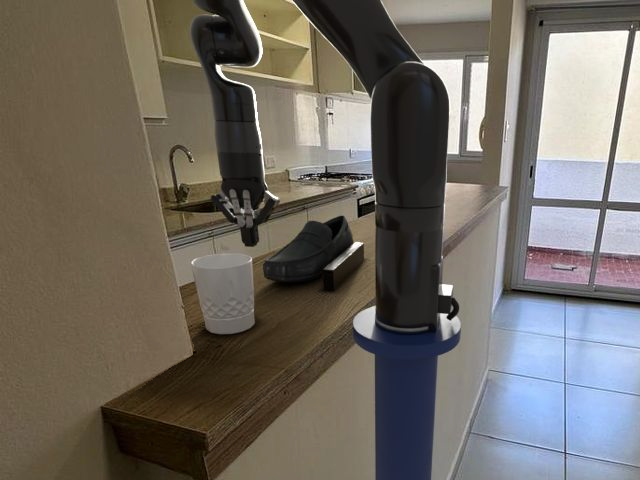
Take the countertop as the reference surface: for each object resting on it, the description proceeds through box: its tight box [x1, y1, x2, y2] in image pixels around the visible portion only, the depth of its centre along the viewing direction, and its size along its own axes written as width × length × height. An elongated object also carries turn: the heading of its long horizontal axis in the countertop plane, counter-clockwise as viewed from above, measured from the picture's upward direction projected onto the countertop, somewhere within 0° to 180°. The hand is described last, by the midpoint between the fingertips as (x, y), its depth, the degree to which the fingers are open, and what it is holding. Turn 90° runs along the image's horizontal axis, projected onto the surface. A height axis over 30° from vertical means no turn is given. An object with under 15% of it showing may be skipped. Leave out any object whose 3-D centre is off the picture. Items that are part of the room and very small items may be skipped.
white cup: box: [190, 252, 256, 335], centre depth 64 cm, size 8×8×10 cm
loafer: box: [262, 215, 355, 283], centre depth 91 cm, size 10×29×10 cm, turn 168°
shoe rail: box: [322, 241, 365, 292], centre depth 91 cm, size 2×22×4 cm, turn 172°
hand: (251, 245), depth 85 cm, fingers closed
